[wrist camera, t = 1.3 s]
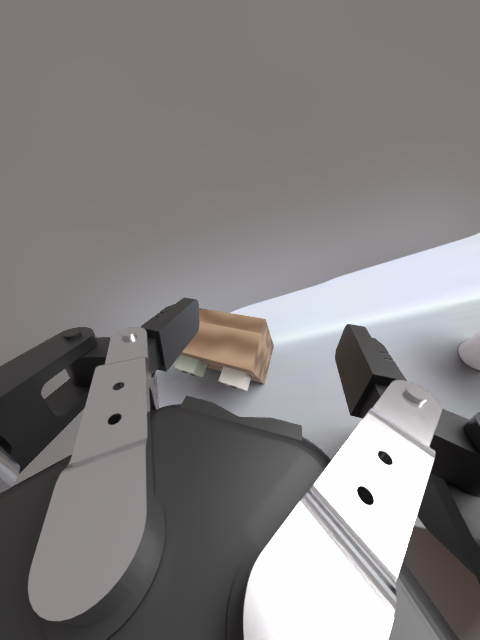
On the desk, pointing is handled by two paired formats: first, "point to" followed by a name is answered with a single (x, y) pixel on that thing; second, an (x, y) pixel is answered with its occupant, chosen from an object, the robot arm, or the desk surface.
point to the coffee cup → (471, 351)
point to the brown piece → (232, 343)
